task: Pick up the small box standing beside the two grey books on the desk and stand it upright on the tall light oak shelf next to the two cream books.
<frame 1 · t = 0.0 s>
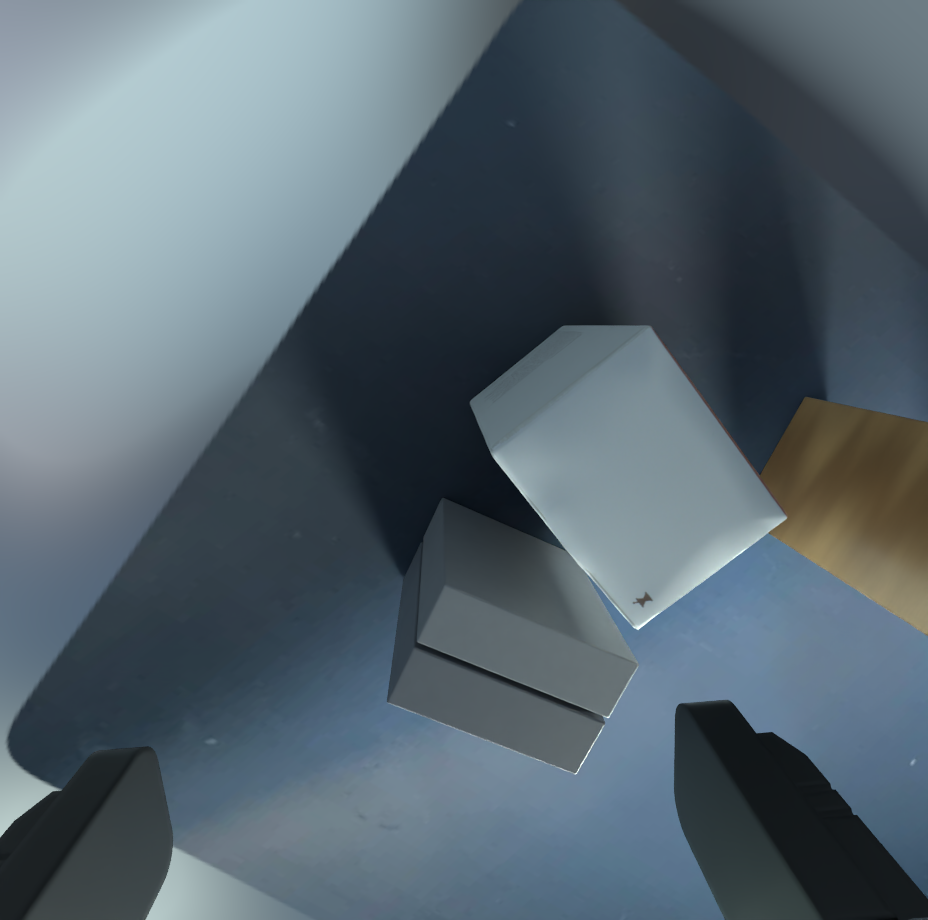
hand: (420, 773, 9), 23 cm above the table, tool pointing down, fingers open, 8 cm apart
small box: (561, 421, 32), on the table
shelf stand: (885, 511, 34), on the table
grey books: (489, 567, 34), on the table
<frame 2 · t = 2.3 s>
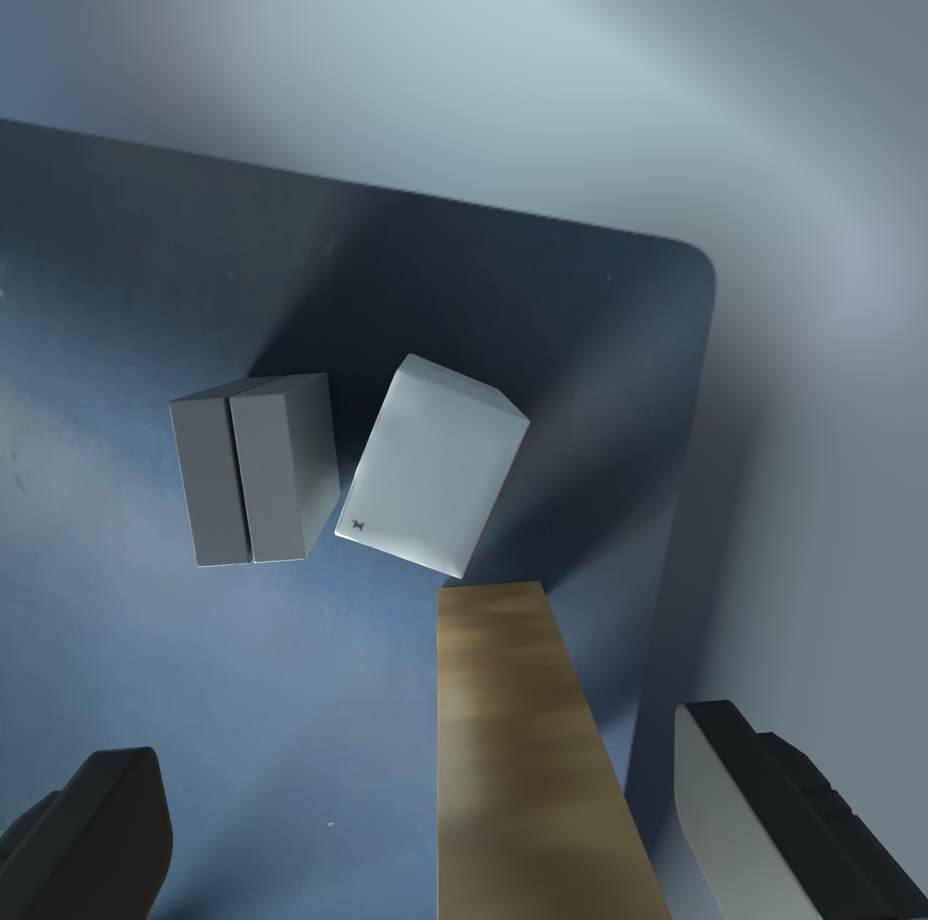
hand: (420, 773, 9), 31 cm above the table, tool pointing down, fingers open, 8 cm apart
small box: (432, 427, 40), on the table
shelf stand: (494, 682, 44), on the table
grey books: (293, 438, 39), on the table
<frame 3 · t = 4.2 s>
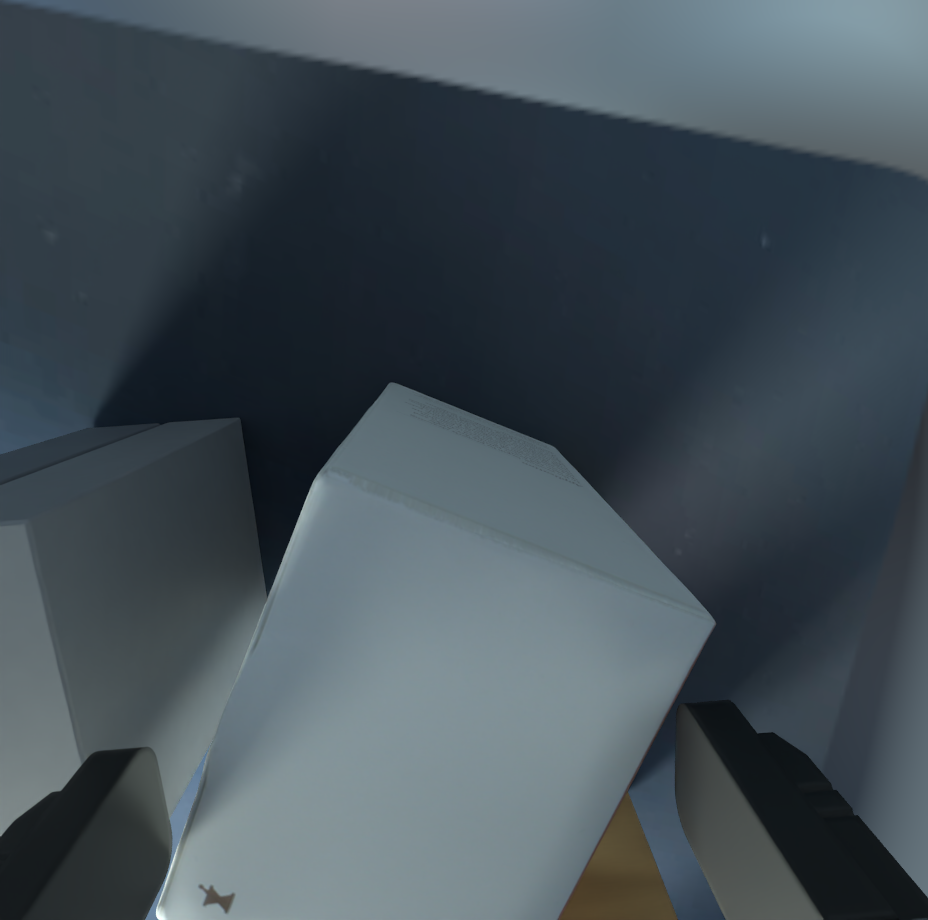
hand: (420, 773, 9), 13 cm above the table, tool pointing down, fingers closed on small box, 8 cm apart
small box: (434, 513, 22), on the table, touching gripper
grey books: (183, 534, 22), on the table
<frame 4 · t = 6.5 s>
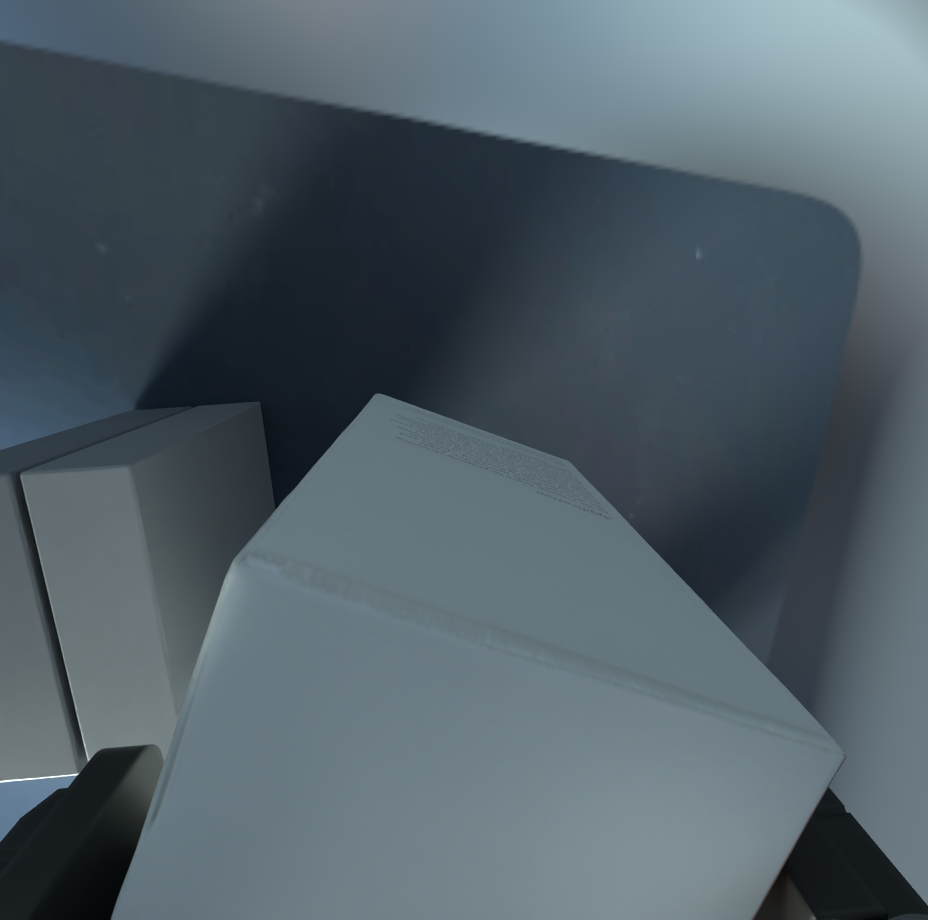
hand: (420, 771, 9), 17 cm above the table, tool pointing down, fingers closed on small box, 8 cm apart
small box: (432, 542, 19), point 7 cm above the table, touching gripper
grey books: (211, 501, 25), on the table
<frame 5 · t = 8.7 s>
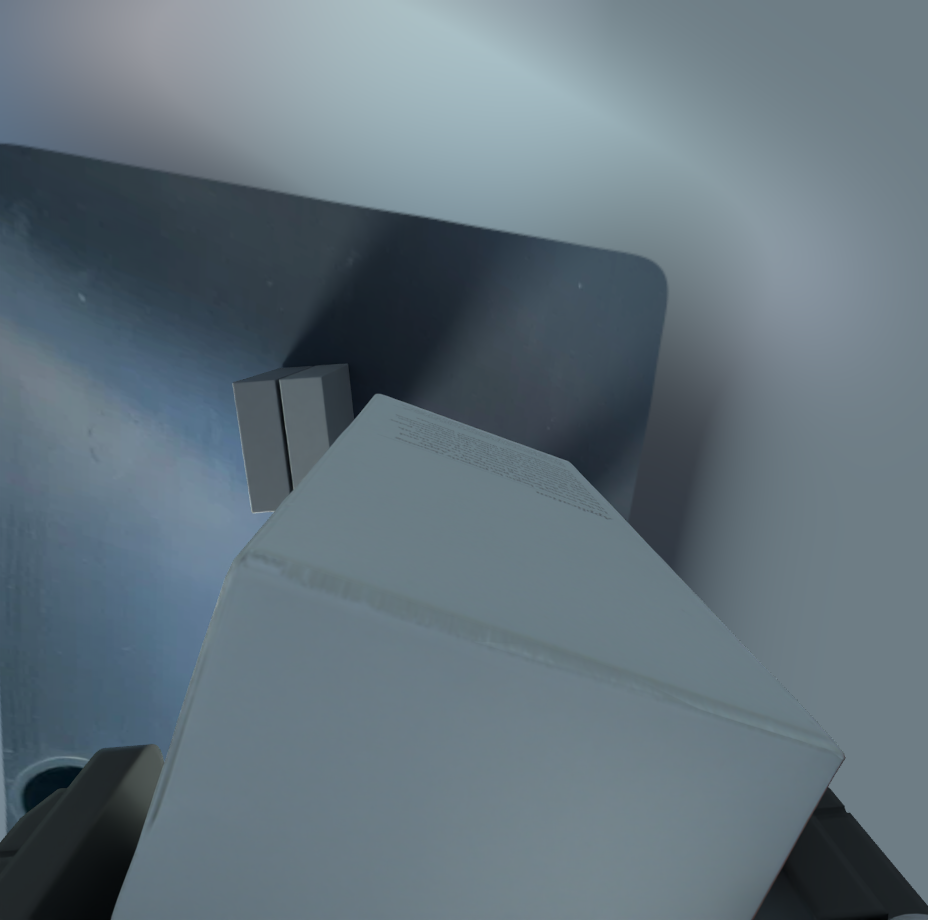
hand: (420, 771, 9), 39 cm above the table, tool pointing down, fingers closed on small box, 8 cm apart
small box: (432, 542, 19), point 29 cm above the table, touching gripper
grey books: (320, 417, 47), on the table
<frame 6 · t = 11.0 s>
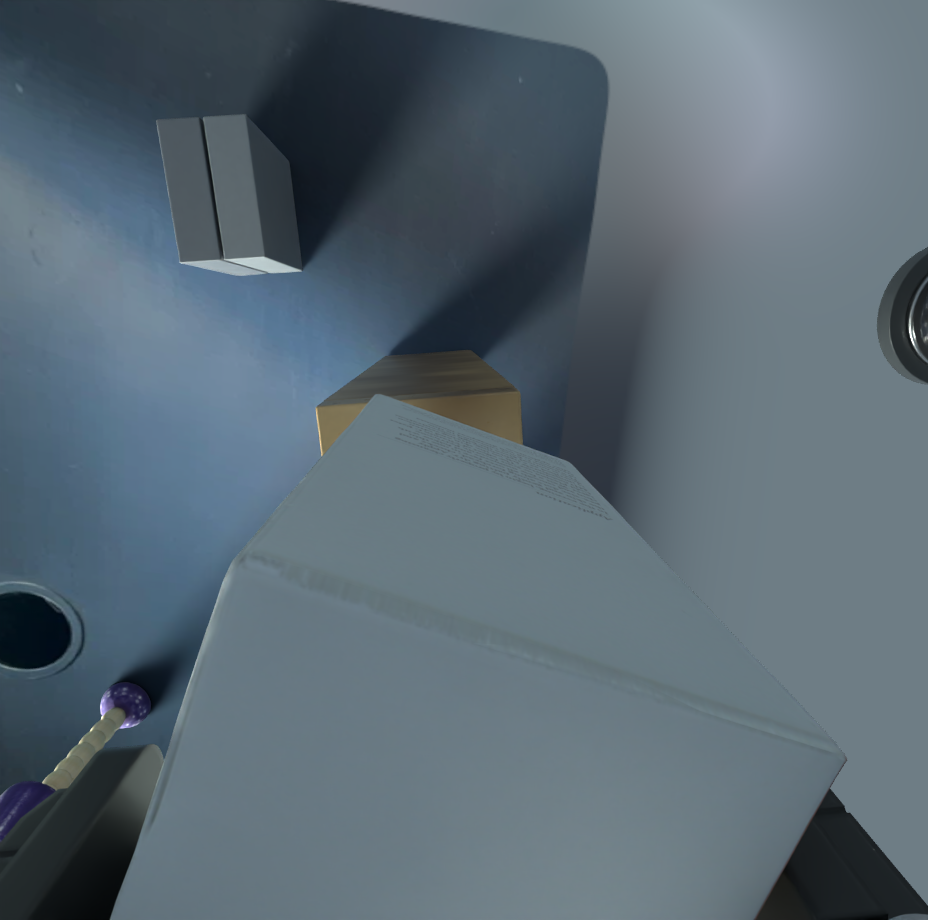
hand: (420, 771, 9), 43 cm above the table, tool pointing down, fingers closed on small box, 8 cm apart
toy lamp: (125, 699, 56), on the table
small box: (432, 543, 19), point 33 cm above the table, touching gripper
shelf: (435, 601, 23), resting on shelf stand
shelf stand: (435, 442, 52), on the table
grey books: (262, 219, 47), on the table
when the fingers open (40 cm above the table, at t = 12.6 s): small box stays where it is, resting on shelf.
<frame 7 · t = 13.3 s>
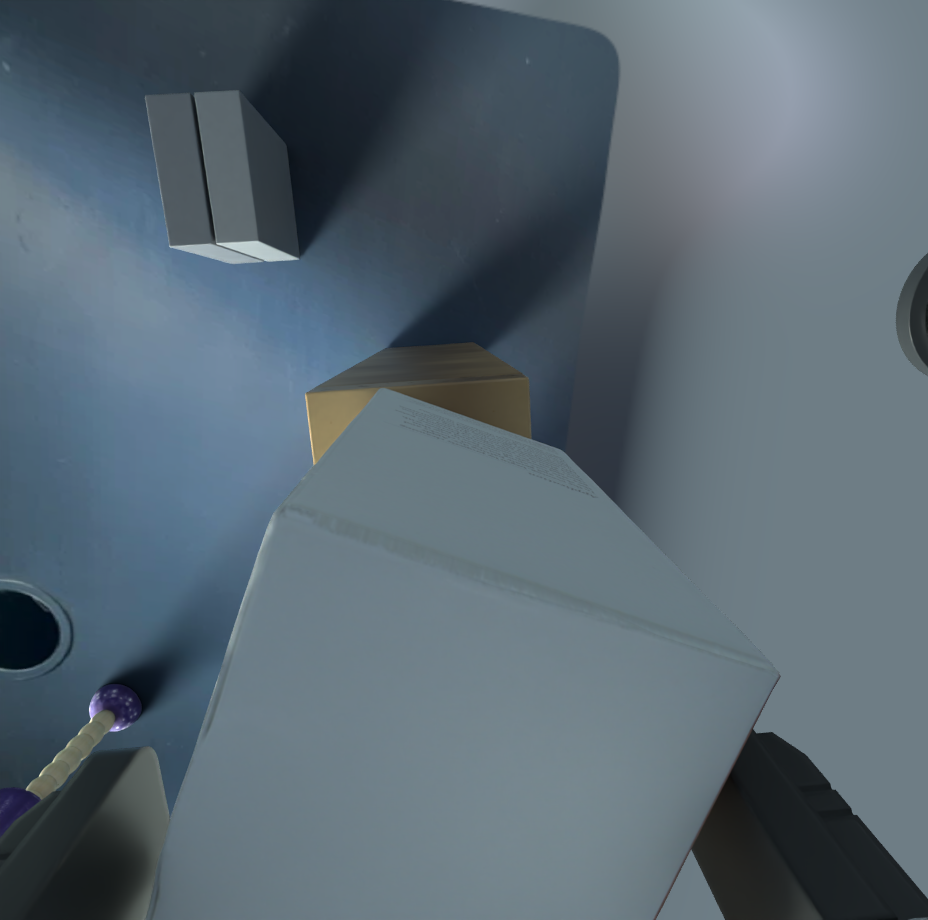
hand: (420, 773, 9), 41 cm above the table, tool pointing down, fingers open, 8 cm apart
toy lamp: (115, 701, 54), on the table
small box: (434, 527, 20), point 30 cm above the table, touching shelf
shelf: (435, 606, 21), resting on shelf stand
shelf stand: (436, 438, 50), on the table
grey books: (258, 205, 46), on the table
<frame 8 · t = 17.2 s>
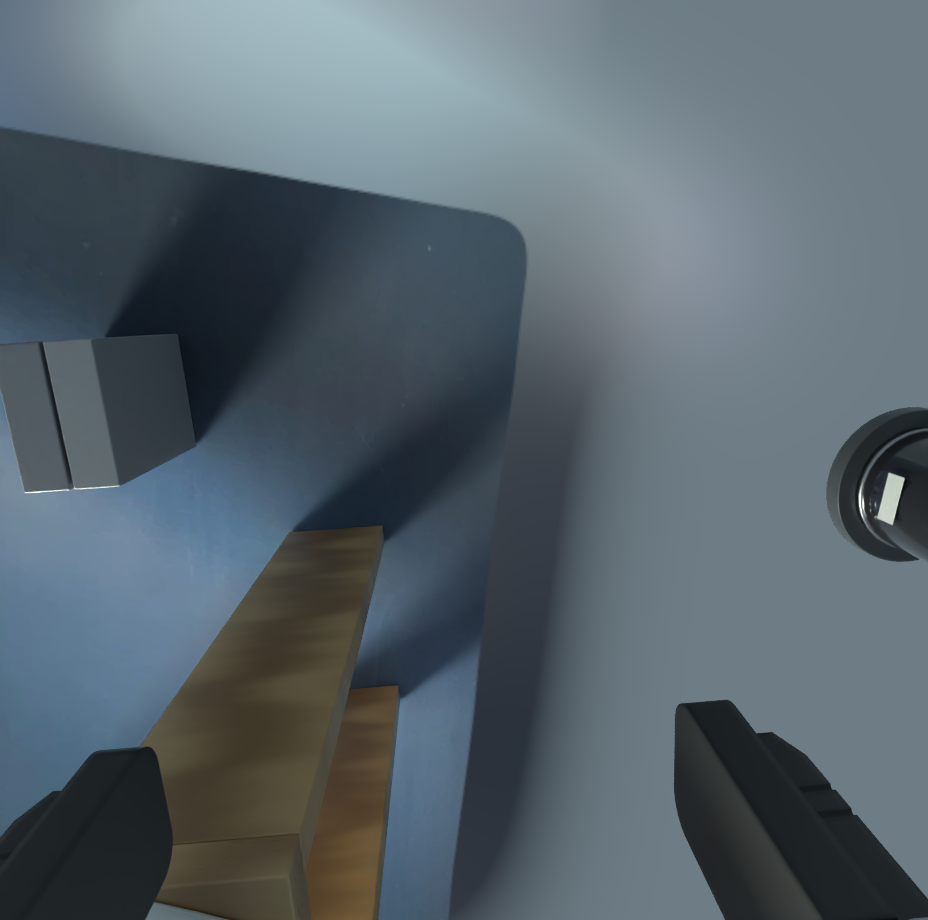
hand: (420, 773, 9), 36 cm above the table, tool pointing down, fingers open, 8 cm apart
shelf stand: (346, 619, 48), on the table
grey books: (150, 393, 43), on the table
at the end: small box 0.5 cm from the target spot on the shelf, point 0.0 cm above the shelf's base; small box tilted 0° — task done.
